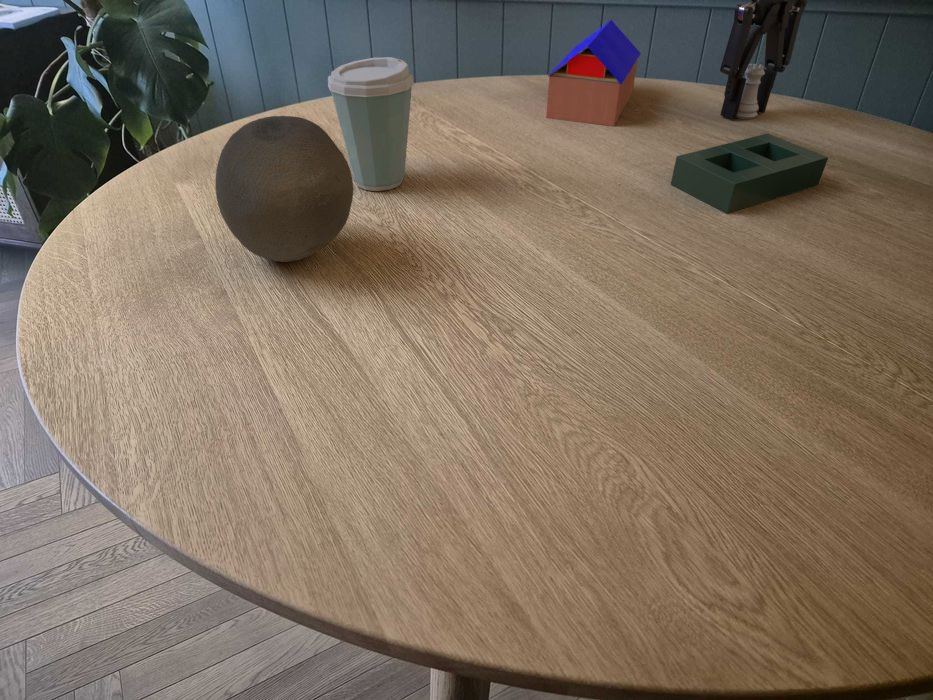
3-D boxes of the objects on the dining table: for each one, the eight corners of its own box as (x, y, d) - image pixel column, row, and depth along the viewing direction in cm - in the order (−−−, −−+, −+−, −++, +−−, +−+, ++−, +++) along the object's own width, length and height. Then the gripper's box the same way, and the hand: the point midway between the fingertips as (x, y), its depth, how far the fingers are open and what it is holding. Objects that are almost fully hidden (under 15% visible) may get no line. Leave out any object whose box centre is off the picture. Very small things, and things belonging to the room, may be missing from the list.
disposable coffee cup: (357, 205, 84) (345, 82, 74) (326, 175, 91) (311, 60, 82) (431, 187, 88) (428, 69, 79) (396, 160, 95) (389, 49, 86)
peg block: (759, 160, 96) (767, 133, 94) (818, 185, 89) (828, 157, 87) (670, 184, 89) (676, 155, 87) (726, 213, 82) (735, 183, 80)
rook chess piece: (758, 113, 113) (771, 64, 108) (755, 121, 109) (769, 71, 104) (730, 109, 114) (743, 60, 109) (727, 117, 111) (740, 67, 106)
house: (543, 117, 110) (549, 42, 103) (570, 84, 125) (577, 16, 118) (615, 127, 107) (626, 50, 100) (634, 91, 122) (645, 22, 114)
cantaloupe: (214, 289, 68) (176, 147, 59) (251, 225, 79) (223, 97, 70) (351, 290, 68) (334, 149, 59) (368, 226, 79) (356, 99, 70)
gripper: (806, -51, 104) (763, 99, 118) (719, -43, 96) (684, 116, 110) (849, -45, 99) (799, 111, 113) (760, -36, 91) (718, 130, 105)
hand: (742, 113), depth 112 cm, fingers open, 6 cm apart
